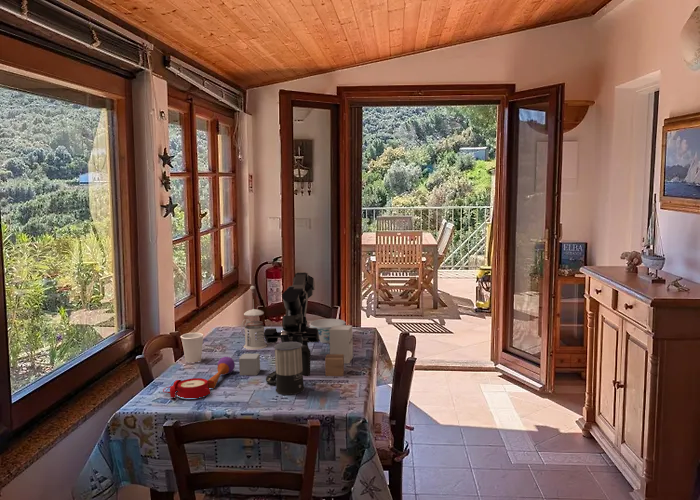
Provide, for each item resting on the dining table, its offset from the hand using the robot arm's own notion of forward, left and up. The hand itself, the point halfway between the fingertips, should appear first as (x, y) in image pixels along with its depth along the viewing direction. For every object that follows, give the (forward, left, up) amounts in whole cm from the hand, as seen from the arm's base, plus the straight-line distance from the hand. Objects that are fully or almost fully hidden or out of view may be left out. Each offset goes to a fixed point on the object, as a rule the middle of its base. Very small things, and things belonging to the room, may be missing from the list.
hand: (290, 356), depth 209 cm
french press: (-39, +18, -7) cm, 44 cm away
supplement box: (+3, +24, -7) cm, 25 cm away
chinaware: (-20, +42, -7) cm, 47 cm away
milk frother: (+6, -9, -7) cm, 13 cm away
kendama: (-17, -16, -7) cm, 25 cm away
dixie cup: (-43, -9, -7) cm, 45 cm away
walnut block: (+11, +11, -7) cm, 17 cm away
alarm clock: (-13, -32, -7) cm, 36 cm away
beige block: (-15, -5, -7) cm, 17 cm away
